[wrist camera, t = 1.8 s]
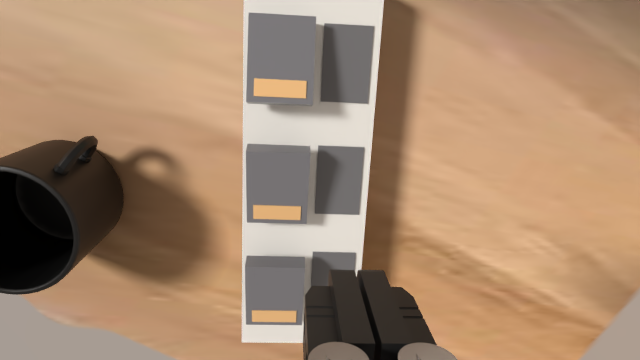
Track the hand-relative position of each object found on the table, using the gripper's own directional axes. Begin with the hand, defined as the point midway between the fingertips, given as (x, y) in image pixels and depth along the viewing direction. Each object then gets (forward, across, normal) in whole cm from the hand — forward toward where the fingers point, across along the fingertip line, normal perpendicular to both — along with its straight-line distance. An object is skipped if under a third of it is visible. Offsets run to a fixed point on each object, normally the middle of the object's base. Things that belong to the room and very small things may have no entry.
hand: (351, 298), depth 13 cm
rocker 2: (+22, +3, +3) cm, 22 cm away
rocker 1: (+22, +3, -6) cm, 23 cm away
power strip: (+27, 0, +3) cm, 27 cm away
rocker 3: (+22, +3, +12) cm, 25 cm away
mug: (+27, +20, +5) cm, 34 cm away
